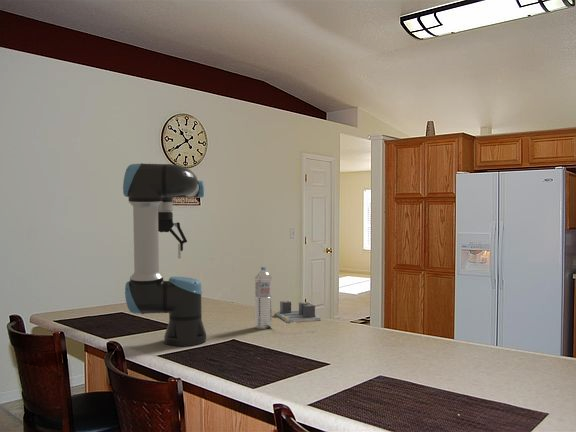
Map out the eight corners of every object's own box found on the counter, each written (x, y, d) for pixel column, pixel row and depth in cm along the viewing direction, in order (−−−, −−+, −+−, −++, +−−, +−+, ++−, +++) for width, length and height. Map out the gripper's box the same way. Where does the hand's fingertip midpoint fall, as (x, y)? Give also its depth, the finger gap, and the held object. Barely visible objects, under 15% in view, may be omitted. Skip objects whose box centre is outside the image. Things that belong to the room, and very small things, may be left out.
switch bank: (320, 323, 213) (320, 317, 213) (287, 325, 209) (287, 319, 209) (305, 315, 231) (305, 309, 231) (275, 317, 227) (275, 311, 227)
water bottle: (272, 326, 208) (272, 266, 209) (270, 329, 202) (270, 268, 202) (256, 325, 209) (256, 266, 209) (253, 329, 202) (253, 268, 202)
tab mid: (310, 317, 220) (310, 303, 220) (301, 317, 219) (301, 303, 219) (307, 315, 224) (307, 301, 224) (298, 316, 222) (298, 302, 223)
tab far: (291, 315, 224) (291, 301, 224) (282, 316, 222) (282, 302, 222) (288, 314, 227) (288, 300, 227) (280, 314, 226) (280, 301, 226)
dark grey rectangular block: (315, 319, 214) (315, 305, 214) (306, 320, 213) (306, 306, 213) (311, 318, 218) (311, 304, 218) (303, 318, 217) (303, 304, 217)
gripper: (190, 212, 233) (190, 257, 232) (135, 211, 225) (134, 258, 224) (193, 211, 226) (193, 258, 225) (135, 211, 218) (135, 259, 217)
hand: (164, 258), depth 225 cm, fingers open, 13 cm apart
